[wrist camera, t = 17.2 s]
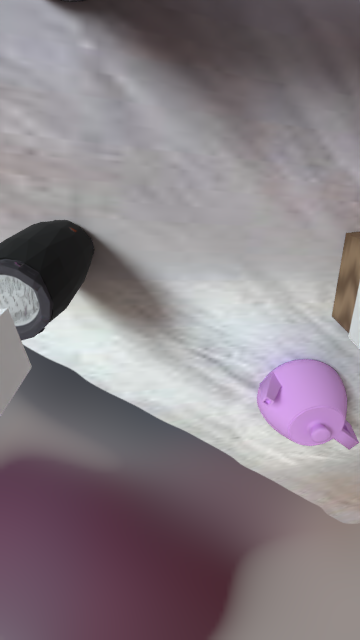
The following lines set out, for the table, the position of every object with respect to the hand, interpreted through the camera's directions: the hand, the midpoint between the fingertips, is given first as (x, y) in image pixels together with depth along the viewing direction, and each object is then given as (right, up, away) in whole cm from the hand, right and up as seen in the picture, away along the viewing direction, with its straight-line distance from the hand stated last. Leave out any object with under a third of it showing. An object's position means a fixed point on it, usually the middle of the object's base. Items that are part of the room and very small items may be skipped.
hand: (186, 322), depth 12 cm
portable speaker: (-17, +11, +33) cm, 39 cm away
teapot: (+22, -13, +48) cm, 54 cm away
